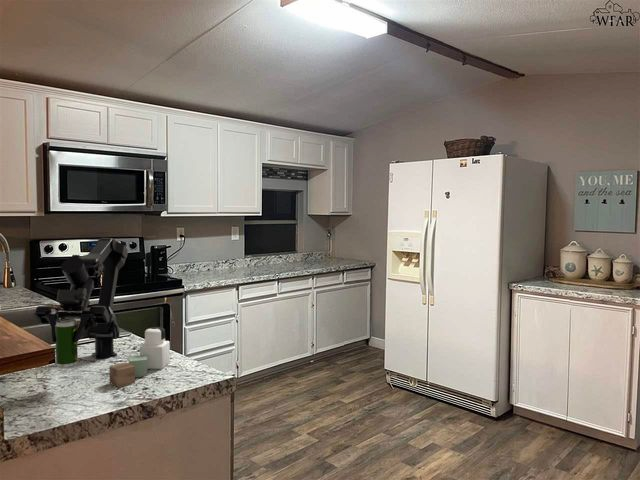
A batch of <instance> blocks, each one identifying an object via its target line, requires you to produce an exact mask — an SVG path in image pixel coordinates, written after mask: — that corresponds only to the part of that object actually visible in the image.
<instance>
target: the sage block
mask: <svg viewBox="0 0 640 480" xmlns="http://www.w3.org/2000/svg"><path fill="white" fill-rule="evenodd" d="M128 363H129V364H131V365H134V366H135V378H140V377H148V369H147V357H146V355H140V354H139V355H132V356H130V355H129V356H128Z"/></svg>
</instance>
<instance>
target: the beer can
mask: <svg viewBox="0 0 640 480" xmlns="http://www.w3.org/2000/svg"><path fill="white" fill-rule="evenodd" d="M77 329H78V322H77V320H76V318H61V319H60V320H58V321H56V325H55V364H56V366H58V367H60V368H62V367H64V368H65V367H66V368H67V367H72V366H74V365H76V364H77V363H78V361H79V360H78V359H79V357H78V355H79V354H78V353H79V351H78V342H75V341H74V339H75V335H76V332H77Z"/></svg>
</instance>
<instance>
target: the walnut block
mask: <svg viewBox="0 0 640 480" xmlns="http://www.w3.org/2000/svg"><path fill="white" fill-rule="evenodd" d="M132 383H133V384H135V383H136V377H135V366H134V365H131V364H129V362H126V361H125V362H121V363H118V364H113V365H109V384H110V385H112V384H113V386H114V385H115V386H114V387H115V388H121V387H125V385H126V386H130V385H132Z"/></svg>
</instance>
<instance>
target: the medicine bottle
mask: <svg viewBox="0 0 640 480" xmlns="http://www.w3.org/2000/svg"><path fill="white" fill-rule="evenodd" d="M170 344H171V343H170V341H169V340H166V329H165V328H163V327H161V326H152V327H148V328H146V329H145V330H144V343H143V344H142V345H140V346H139V356H140V355H146V357H147V370H162V369H164V368H165V367H166V366H168V365H169V363H170V357H171V356H170V355H171V352H170V351H171V349H170Z"/></svg>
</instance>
